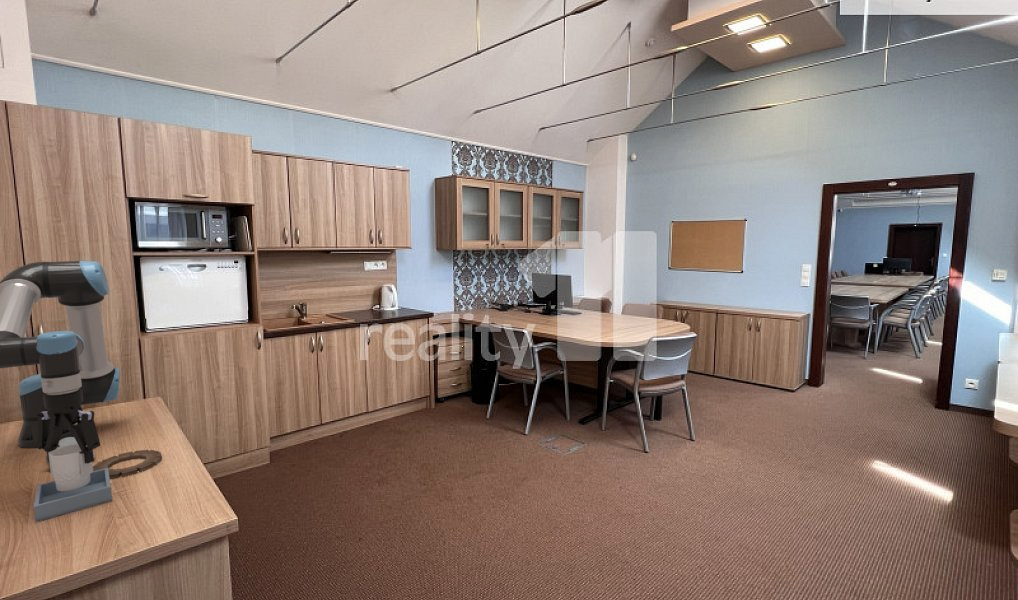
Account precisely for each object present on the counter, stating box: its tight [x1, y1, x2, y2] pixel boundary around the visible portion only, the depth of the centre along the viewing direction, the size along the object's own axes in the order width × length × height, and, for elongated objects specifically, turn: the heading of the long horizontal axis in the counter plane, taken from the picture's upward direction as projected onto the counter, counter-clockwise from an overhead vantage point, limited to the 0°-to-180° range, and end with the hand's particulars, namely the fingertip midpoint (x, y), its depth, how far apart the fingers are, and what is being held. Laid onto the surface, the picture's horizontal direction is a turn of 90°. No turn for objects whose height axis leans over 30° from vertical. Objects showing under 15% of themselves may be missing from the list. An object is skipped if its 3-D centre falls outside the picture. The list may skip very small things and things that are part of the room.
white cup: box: [49, 444, 90, 491], centre depth 127 cm, size 8×8×10 cm
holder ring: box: [93, 449, 163, 480], centre depth 148 cm, size 17×17×1 cm
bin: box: [33, 468, 113, 523], centre depth 128 cm, size 15×15×4 cm
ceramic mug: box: [45, 437, 96, 467], centre depth 149 cm, size 11×8×8 cm
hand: (72, 473), depth 128 cm, fingers closed on white cup, 8 cm apart
